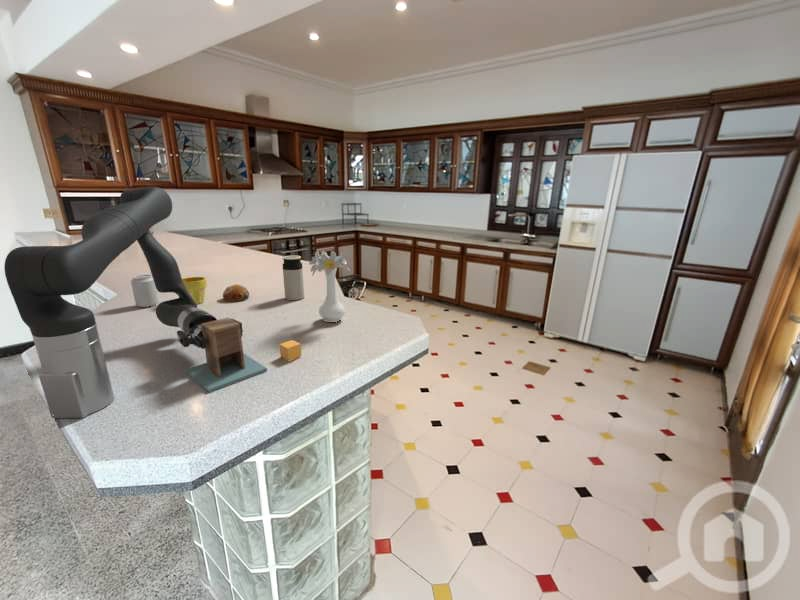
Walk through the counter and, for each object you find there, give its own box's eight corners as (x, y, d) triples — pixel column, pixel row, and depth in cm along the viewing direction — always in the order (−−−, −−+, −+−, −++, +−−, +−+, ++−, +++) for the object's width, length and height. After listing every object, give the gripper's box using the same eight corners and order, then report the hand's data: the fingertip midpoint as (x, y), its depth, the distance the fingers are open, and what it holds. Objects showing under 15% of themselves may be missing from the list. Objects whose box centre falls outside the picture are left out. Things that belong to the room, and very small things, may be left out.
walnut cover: (245, 368, 88) (239, 323, 85) (218, 377, 84) (211, 330, 80) (233, 360, 92) (228, 317, 89) (208, 368, 88) (201, 323, 84)
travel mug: (305, 299, 149) (302, 258, 144) (286, 301, 146) (282, 258, 141) (303, 295, 156) (300, 254, 151) (284, 296, 153) (281, 255, 148)
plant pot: (181, 300, 146) (177, 277, 143) (209, 297, 150) (206, 275, 147) (178, 307, 137) (174, 283, 134) (208, 304, 141) (204, 280, 138)
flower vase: (337, 310, 136) (334, 245, 129) (358, 324, 122) (357, 252, 115) (304, 315, 130) (300, 248, 122) (323, 331, 115) (319, 255, 108)
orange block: (301, 357, 97) (300, 343, 96) (288, 361, 94) (287, 348, 93) (293, 352, 99) (292, 339, 98) (280, 357, 96) (279, 344, 95)
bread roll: (245, 303, 156) (239, 286, 156) (255, 297, 149) (249, 279, 149) (223, 308, 148) (217, 290, 148) (232, 302, 142) (226, 283, 142)
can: (147, 309, 134) (141, 278, 131) (131, 307, 136) (124, 277, 132) (163, 303, 141) (158, 274, 138) (148, 302, 143) (142, 273, 139)
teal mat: (267, 371, 89) (266, 368, 88) (208, 392, 79) (208, 389, 78) (241, 354, 97) (241, 351, 97) (186, 372, 87) (185, 369, 87)
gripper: (165, 316, 90) (188, 333, 79) (222, 304, 100) (249, 318, 89) (170, 343, 92) (193, 363, 81) (226, 329, 102) (252, 345, 92)
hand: (222, 339), depth 85 cm, fingers open, 8 cm apart
